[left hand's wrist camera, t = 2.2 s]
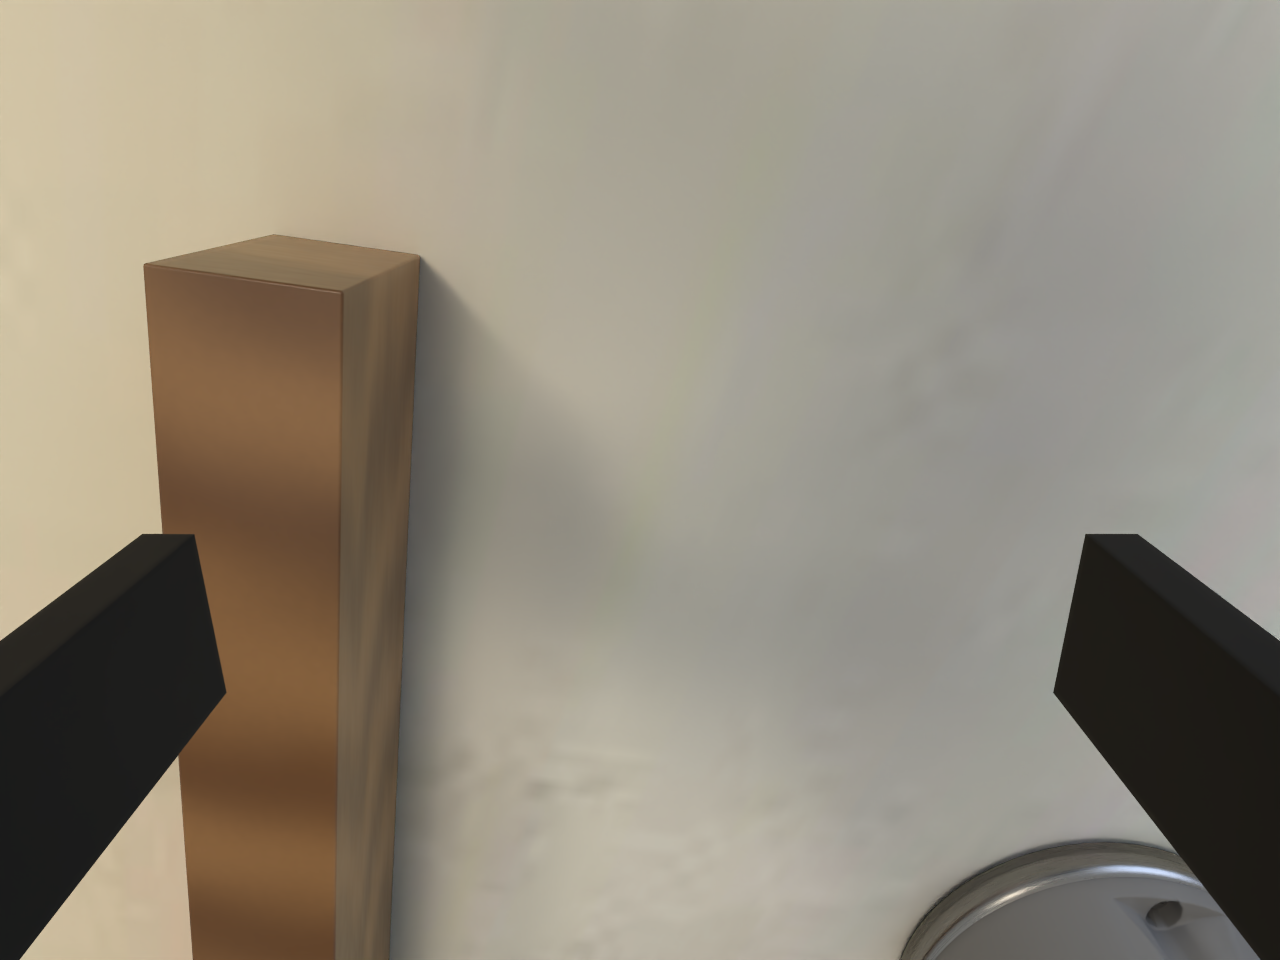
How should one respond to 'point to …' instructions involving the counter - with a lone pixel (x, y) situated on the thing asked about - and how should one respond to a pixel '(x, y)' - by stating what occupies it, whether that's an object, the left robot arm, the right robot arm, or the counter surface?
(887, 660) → the counter surface
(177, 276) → the post
